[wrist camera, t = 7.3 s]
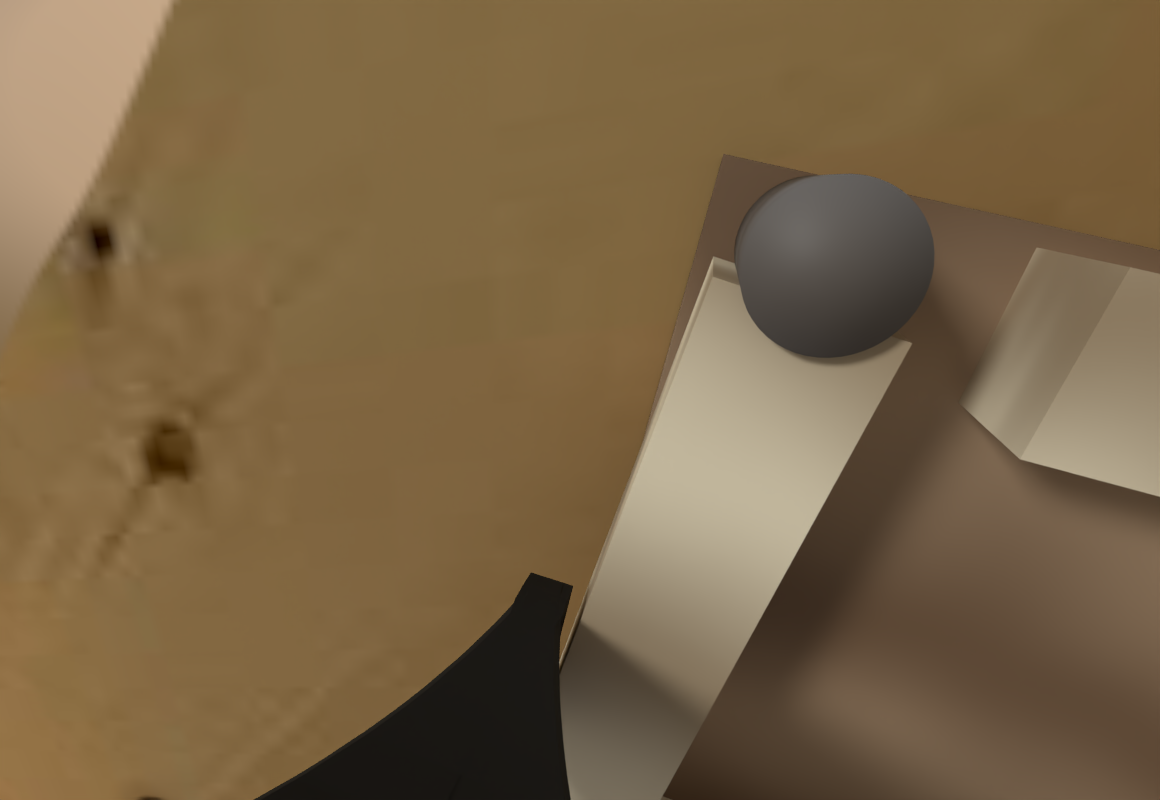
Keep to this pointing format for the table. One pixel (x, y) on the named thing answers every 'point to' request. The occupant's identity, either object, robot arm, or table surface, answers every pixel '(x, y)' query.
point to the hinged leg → (737, 467)
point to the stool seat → (967, 542)
